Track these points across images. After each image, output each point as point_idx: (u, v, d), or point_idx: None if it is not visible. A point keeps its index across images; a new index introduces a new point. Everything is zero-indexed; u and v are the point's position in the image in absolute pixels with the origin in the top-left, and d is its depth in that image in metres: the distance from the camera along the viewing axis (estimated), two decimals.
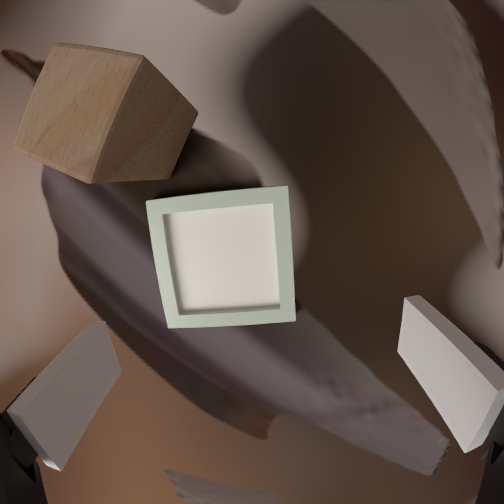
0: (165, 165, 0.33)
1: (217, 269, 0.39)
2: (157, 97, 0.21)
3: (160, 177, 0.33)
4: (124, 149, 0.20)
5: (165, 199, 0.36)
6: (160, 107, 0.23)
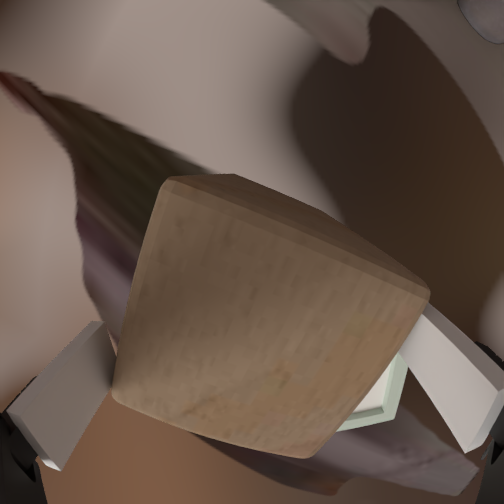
0: None
1: None
2: None
3: None
4: None
5: None
6: None
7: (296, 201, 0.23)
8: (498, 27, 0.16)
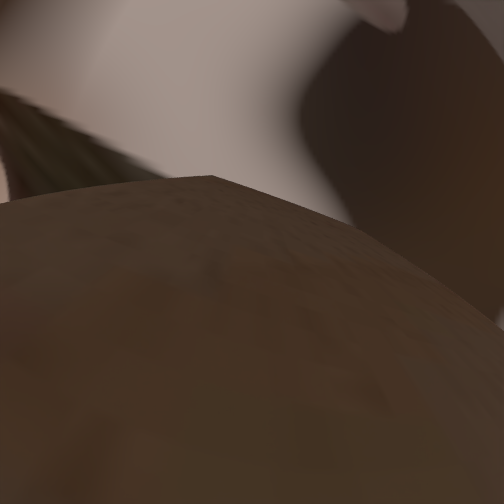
0: None
1: None
2: None
3: None
4: None
5: None
6: None
7: (325, 221, 0.12)
8: None
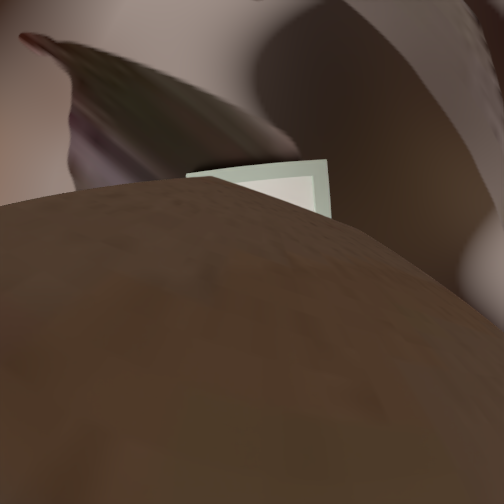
0: None
1: None
2: None
3: None
4: None
5: (206, 171, 0.36)
6: None
7: (324, 222, 0.12)
8: None
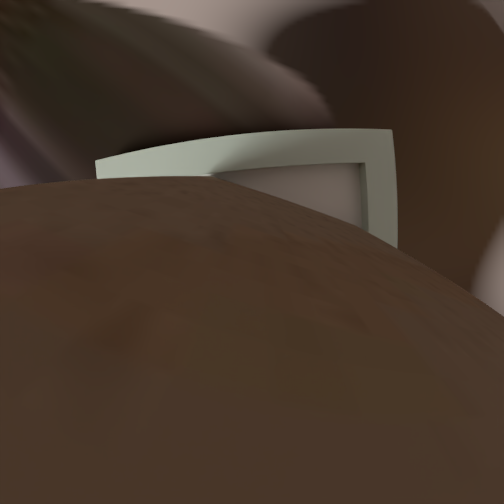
0: None
1: None
2: None
3: None
4: None
5: (133, 154, 0.15)
6: None
7: (320, 216, 0.13)
8: None
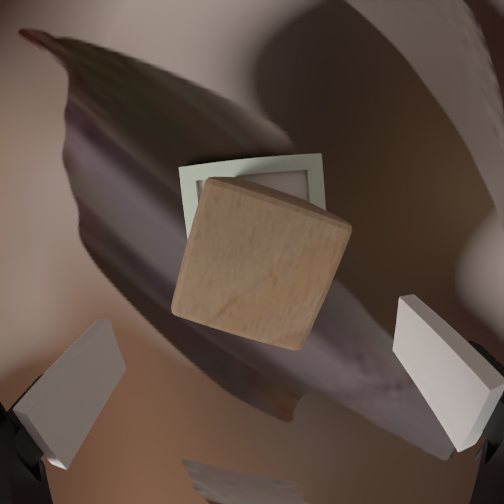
0: None
1: None
2: None
3: None
4: None
5: (199, 165, 0.35)
6: None
7: None
8: None
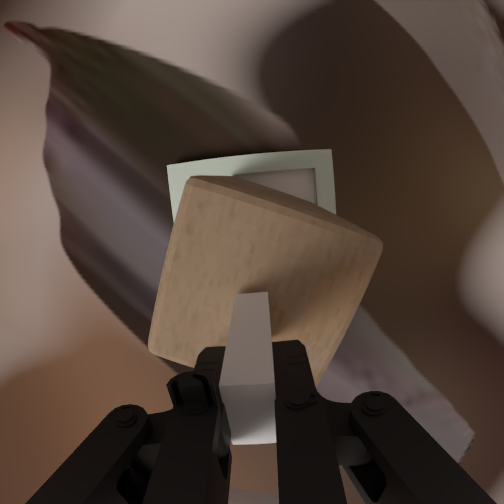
0: None
1: None
2: None
3: None
4: None
5: (190, 163, 0.30)
6: None
7: (287, 194, 0.28)
8: None
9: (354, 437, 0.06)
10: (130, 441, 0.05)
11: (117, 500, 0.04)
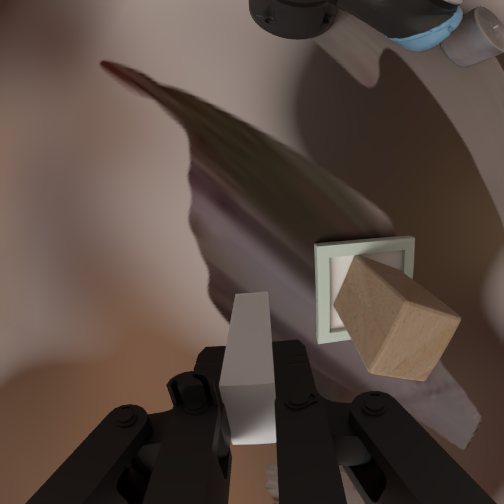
0: None
1: None
2: None
3: None
4: None
5: (333, 246, 0.46)
6: None
7: (395, 271, 0.43)
8: (464, 57, 0.34)
9: (354, 437, 0.06)
10: (130, 441, 0.05)
11: (117, 500, 0.04)
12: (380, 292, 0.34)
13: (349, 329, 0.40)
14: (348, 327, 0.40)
